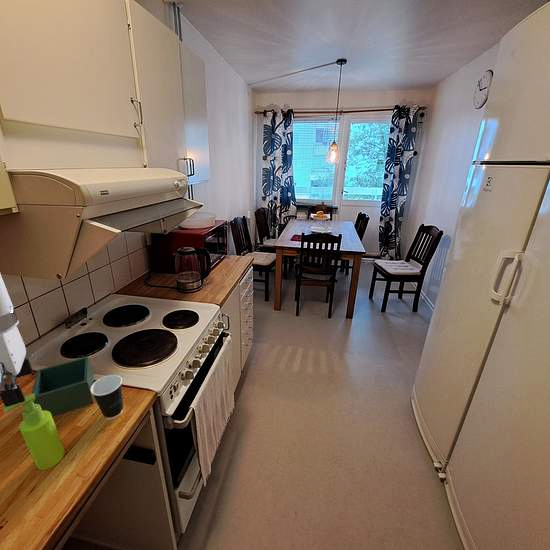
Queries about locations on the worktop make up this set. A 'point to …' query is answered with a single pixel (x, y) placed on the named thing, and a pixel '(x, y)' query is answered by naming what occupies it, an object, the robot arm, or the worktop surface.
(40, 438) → the soap dispenser
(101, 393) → the dixie cup
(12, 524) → the worktop surface
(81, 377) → the bin
